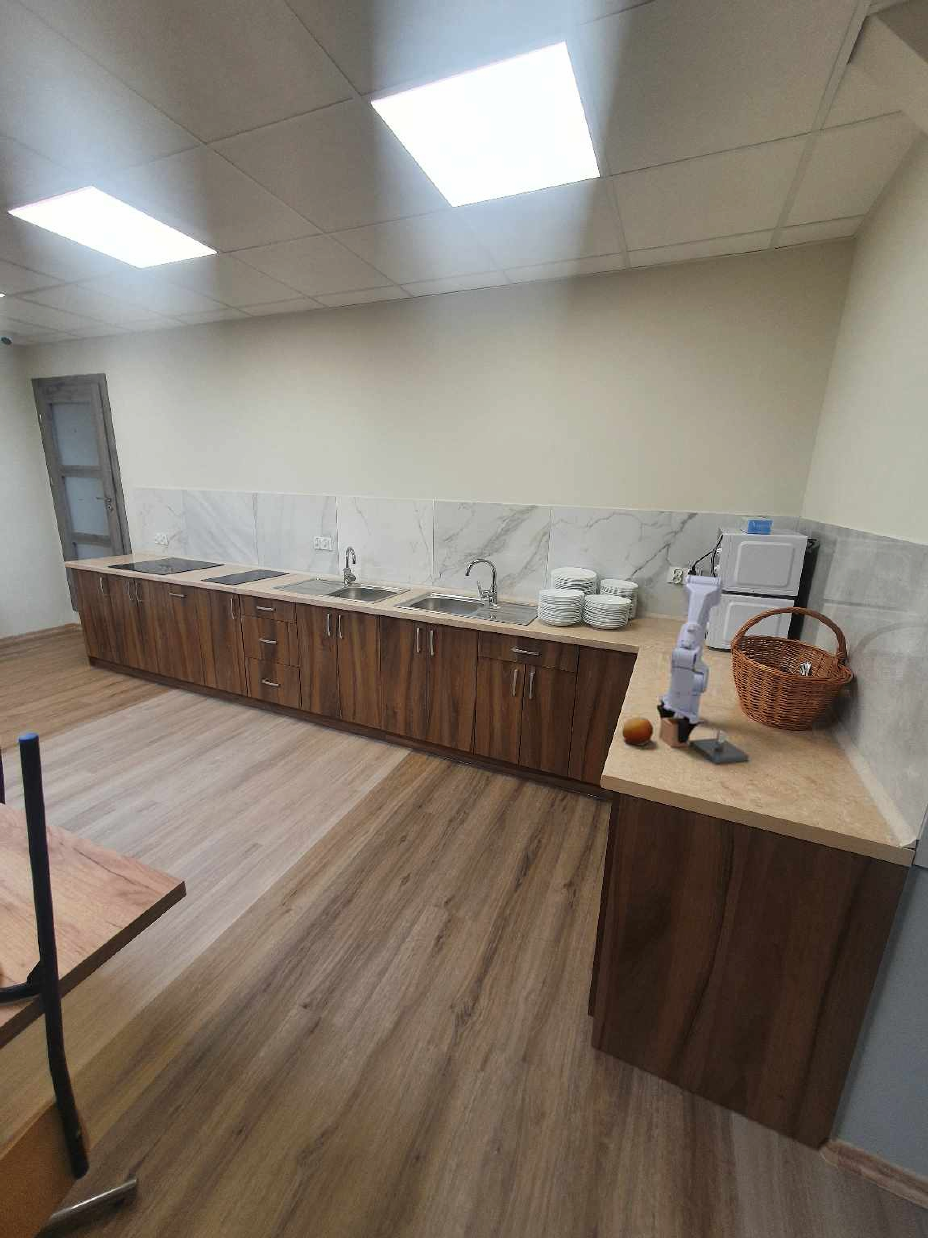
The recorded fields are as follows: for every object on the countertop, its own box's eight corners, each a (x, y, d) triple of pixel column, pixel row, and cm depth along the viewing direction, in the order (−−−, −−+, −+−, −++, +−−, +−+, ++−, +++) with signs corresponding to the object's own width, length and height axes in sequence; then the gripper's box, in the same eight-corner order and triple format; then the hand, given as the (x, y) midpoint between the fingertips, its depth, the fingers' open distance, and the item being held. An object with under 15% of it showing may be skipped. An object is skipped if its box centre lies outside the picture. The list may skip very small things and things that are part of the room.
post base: (689, 745, 139) (692, 723, 138) (720, 742, 141) (724, 721, 140) (715, 764, 130) (718, 741, 128) (748, 760, 132) (752, 737, 130)
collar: (659, 737, 143) (661, 718, 142) (675, 736, 144) (678, 716, 143) (670, 747, 138) (673, 726, 137) (688, 745, 139) (691, 725, 138)
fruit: (652, 748, 134) (640, 720, 135) (626, 753, 139) (614, 726, 140) (663, 738, 140) (651, 710, 141) (637, 743, 145) (626, 717, 146)
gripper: (651, 681, 143) (646, 725, 147) (684, 702, 130) (677, 750, 133) (673, 680, 145) (667, 723, 148) (708, 700, 131) (701, 747, 135)
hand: (674, 736), depth 141 cm, fingers open, 7 cm apart
